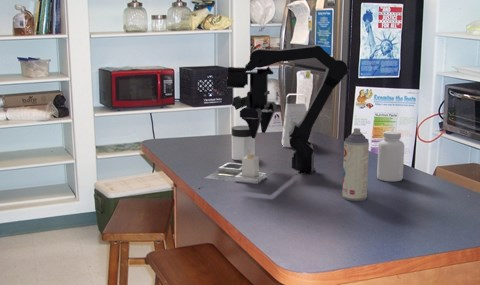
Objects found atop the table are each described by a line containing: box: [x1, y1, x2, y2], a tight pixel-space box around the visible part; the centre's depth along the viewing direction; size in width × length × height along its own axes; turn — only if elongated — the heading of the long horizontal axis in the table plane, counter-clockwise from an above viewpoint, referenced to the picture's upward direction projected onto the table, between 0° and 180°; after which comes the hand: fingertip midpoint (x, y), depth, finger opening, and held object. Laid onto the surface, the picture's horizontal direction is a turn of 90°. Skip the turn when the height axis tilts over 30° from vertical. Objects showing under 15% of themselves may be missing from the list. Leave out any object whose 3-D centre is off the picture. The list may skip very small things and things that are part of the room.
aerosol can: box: [342, 127, 370, 202], centre depth 176 cm, size 7×7×20 cm
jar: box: [231, 125, 256, 161], centre depth 220 cm, size 9×8×12 cm
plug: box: [241, 155, 260, 178], centre depth 192 cm, size 4×4×8 cm
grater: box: [281, 93, 310, 148], centre depth 246 cm, size 10×10×20 cm
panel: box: [204, 162, 277, 185], centre depth 198 cm, size 18×16×3 cm
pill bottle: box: [376, 130, 405, 183], centre depth 196 cm, size 8×8×15 cm
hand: (258, 135), depth 205 cm, fingers open, 9 cm apart
